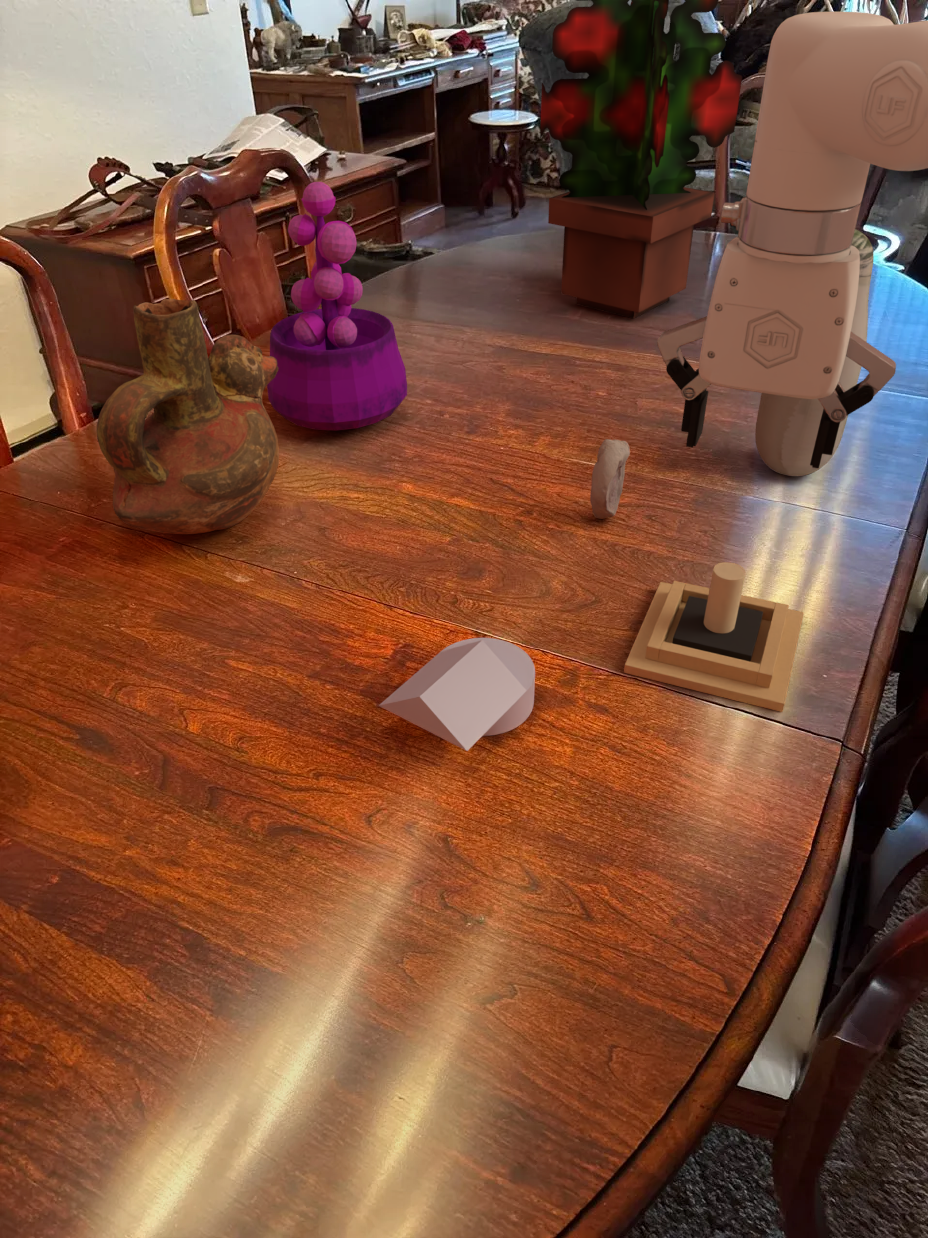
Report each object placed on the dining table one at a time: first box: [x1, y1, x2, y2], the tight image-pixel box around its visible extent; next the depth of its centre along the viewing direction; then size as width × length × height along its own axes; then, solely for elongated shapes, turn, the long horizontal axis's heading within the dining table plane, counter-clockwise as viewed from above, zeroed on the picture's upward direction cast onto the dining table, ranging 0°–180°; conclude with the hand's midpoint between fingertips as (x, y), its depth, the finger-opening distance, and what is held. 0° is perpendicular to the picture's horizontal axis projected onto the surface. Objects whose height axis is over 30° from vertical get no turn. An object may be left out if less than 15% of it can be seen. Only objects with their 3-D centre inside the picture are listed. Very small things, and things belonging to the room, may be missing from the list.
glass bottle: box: [754, 228, 875, 477], centre depth 105 cm, size 10×10×28 cm
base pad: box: [623, 580, 805, 713], centre depth 86 cm, size 14×14×2 cm
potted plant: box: [539, 0, 743, 319], centre depth 149 cm, size 22×22×45 cm
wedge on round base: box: [378, 637, 536, 752], centre depth 78 cm, size 9×7×13 cm
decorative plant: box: [266, 181, 408, 431], centre depth 118 cm, size 19×18×30 cm
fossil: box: [589, 438, 631, 520], centre depth 102 cm, size 6×4×10 cm, turn 149°
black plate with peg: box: [672, 561, 763, 662], centre depth 84 cm, size 7×7×8 cm
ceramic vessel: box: [96, 298, 280, 535], centre depth 99 cm, size 17×26×25 cm, turn 152°
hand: (753, 450), depth 74 cm, fingers open, 9 cm apart
